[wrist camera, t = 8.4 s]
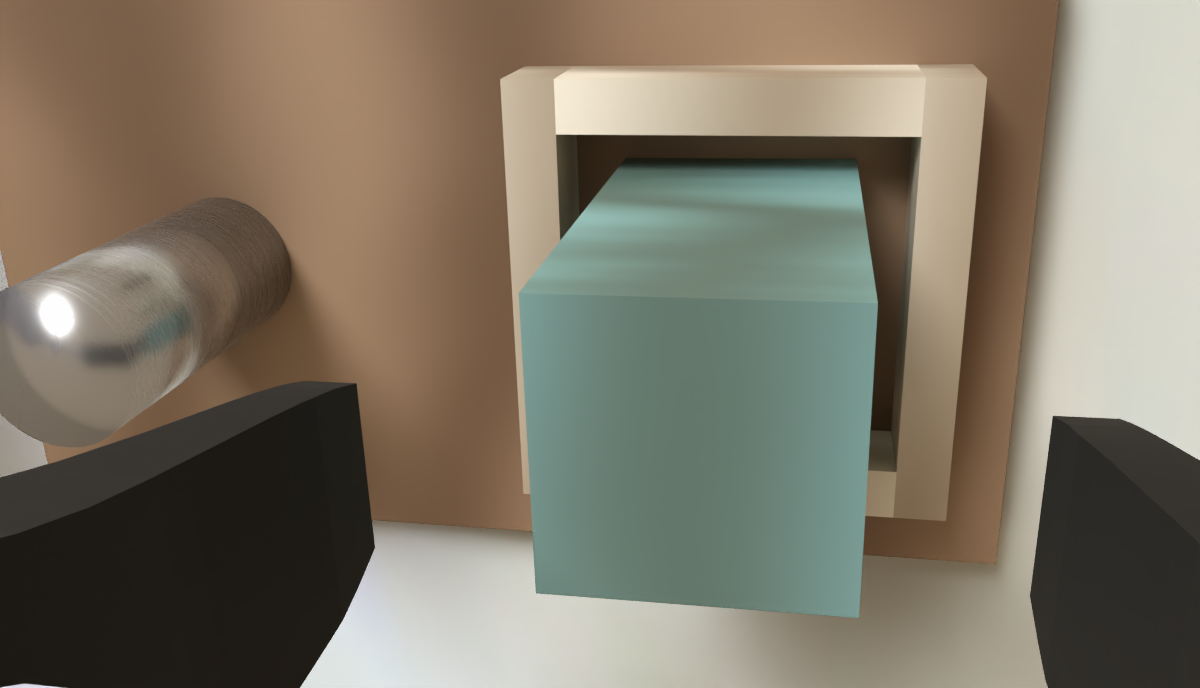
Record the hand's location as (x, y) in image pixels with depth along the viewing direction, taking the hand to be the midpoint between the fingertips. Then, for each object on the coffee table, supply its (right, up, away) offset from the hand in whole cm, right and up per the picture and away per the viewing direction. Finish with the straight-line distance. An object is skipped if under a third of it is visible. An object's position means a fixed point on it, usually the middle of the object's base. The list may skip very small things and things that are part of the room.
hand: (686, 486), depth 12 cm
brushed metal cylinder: (-7, +3, +8) cm, 12 cm away
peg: (+1, +3, +7) cm, 7 cm away
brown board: (-3, +3, +8) cm, 9 cm away
